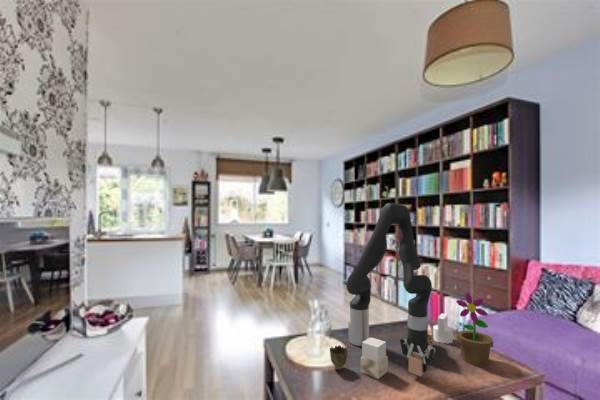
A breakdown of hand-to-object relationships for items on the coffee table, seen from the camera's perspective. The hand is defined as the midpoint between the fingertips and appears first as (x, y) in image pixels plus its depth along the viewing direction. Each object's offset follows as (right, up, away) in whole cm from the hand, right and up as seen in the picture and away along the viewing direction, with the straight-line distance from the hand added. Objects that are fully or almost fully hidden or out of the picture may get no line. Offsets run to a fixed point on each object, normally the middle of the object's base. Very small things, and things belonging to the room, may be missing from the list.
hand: (417, 369), depth 125 cm
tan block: (0, -1, 0) cm, 1 cm away
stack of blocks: (+11, -4, +23) cm, 26 cm away
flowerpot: (+30, -4, +14) cm, 34 cm away
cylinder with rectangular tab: (+26, -4, +36) cm, 45 cm away
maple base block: (-16, -3, +4) cm, 17 cm away
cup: (-30, -4, +7) cm, 31 cm away
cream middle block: (-16, +3, +5) cm, 17 cm away
